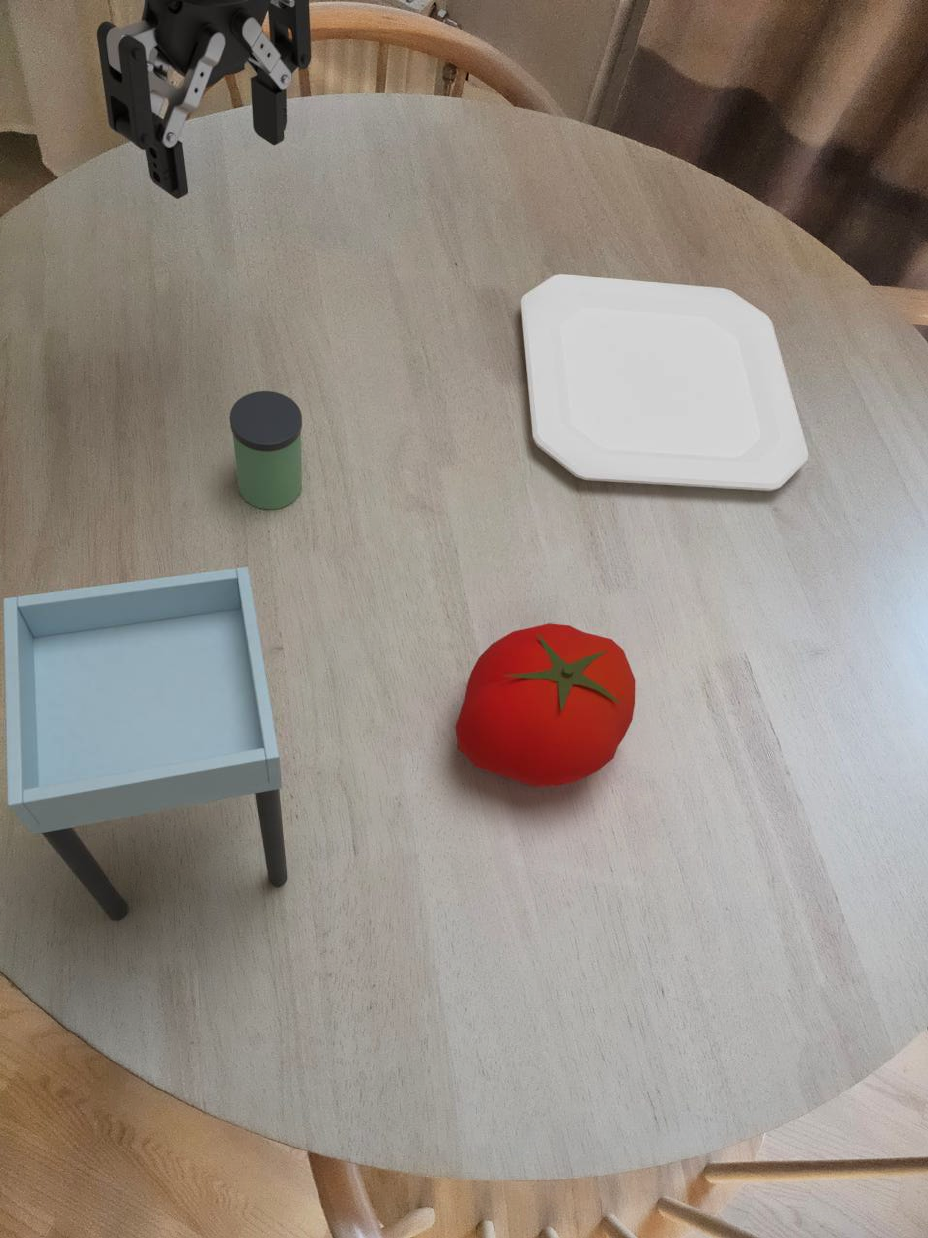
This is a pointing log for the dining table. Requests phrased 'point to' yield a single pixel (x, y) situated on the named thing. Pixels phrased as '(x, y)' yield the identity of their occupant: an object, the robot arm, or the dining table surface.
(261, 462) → the plastic tub
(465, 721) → the tomato
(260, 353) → the dining table surface
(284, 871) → the tray
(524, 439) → the dining table surface
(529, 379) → the plate
